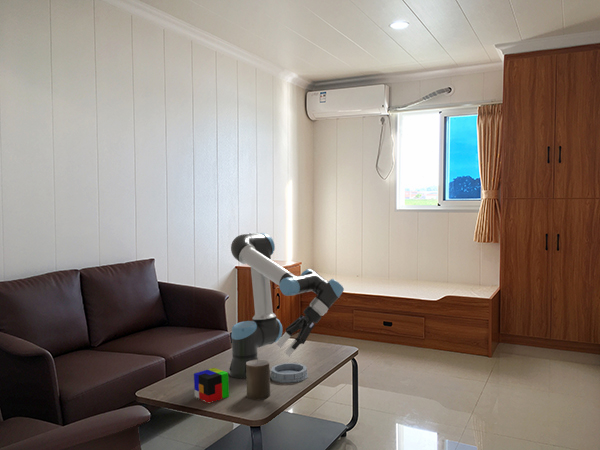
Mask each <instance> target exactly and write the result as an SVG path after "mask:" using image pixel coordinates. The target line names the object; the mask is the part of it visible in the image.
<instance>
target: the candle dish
mask: <svg viewBox="0 0 600 450" xmlns="http://www.w3.org/2000/svg"><path fill="white" fill-rule="evenodd" d="M270 368H271V370H270V371H271V373H270V380H272V381H274V382H276V383H279V384H280V383H282V384H292V383H299V382H300V383H301V382H303V381H305V380H306V379H308V374H309V373H308V367H307V366H306V365H305V364H302V363H299V362H283V363H279V364H275V365H273V366H272V367H270Z"/></svg>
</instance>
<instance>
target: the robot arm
mask: <svg viewBox="0 0 600 450" xmlns="http://www.w3.org/2000/svg"><path fill="white" fill-rule="evenodd" d="M275 249H276V247H275V242H274V239H273V238H272V236H270V235H269V234H268V233H265V232H257V233H248V234H240V235H238V236H236V237H235V238H234V239H233V241H232V242H231V245H230V251H231V254H232V257H233V258H234V259H235V260H237V261H238V263H241V264H242V265H246V264H247V265H248V266H249V267H250V273H251V283H252V294H253V306H254V315H253V317H252V320H245V321H240V322H237V323H235V324H234V325H232V327H231V334H230V336H231V353H232V357H231V361H230V365H229V368H228V376H230V377H231V378H234V379H241V380H242V379H246V378H247V377H246V362H248V361H251V360H259V357H258V348H262V347H264V346H267V345H272V344H274V343H275V344H276V346H278V347H279V348H283V346H284V344H285V345H286V342H287V341H288V340H289V339H290V338H291V337H292V336H293V334H294V333H296V332H298V331H299V333H298V334H297V336H296V337H295V338H294V340H293V341H292V342H291V344H289V346H288V347H287V348H286V349H285V351H284V353H285V355H287V356H288V357H291V356H292V355H293V353H294V352H295V351H296V350H297V348H299V346H300V345H304V344H305V343H306V341H307V339H308V337H309V335H311V332H312V330H313V329H314V328H315V326H316V324H317V323H319V321H320V320H322V316H323V317H324V315H326V314H327V313H328V310H329V309H330V308H331V307H332V306H333V304H335V302H336V301H337V300H338V299H339V298H340V297H341V295H342V294H343V292H344V290H345V289H344V287H343V285H342V284H341V283H340V282H339V281H337V280H336V279H334V278H331V279H329V280H327V279H325V278H324V277H323V276H322V275H320V273H318V272H316V271H315V270H313V269H311V268H307V269H305V270H304V271H302V273H301V274H300V275H295V274H294V273H292V272H290V271H288V270H287V269H285V268H284V267H283V266H281V265H279V264H278V263H277V262H275V261H273V260H272V259H271V258H272V255H273V254H274V252H275ZM271 282H273V283H274V284H275V285H277V286H278V287H279V291H281V293H282V295H284V296H287V297H289V296H290V297H291V296H296V295H300V294H304V293H309V292H312V293H314V294H316V296H315V297H314V298H313V299H312V300H311V302H310V303H309V306H307V307H305V309H304V310H303V314H304V315H302V314H301V315H300V316H299V317H298V318H296V319H295V320H294V321H293V322H292V323H290V325H288V326H287V327H286V328H285V332H284V333H283V325H282V323H281V321H280V319H278V318H277V315H276V313H274V312H273V302H272V291H271Z"/></svg>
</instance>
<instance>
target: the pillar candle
mask: <svg viewBox="0 0 600 450" xmlns="http://www.w3.org/2000/svg"><path fill="white" fill-rule="evenodd" d="M258 359H259V358H258ZM270 368H271V367H270V361H269V360H267V359H262V358H261V359H259V360H251V361H248V362H246V377H247V378H245V379H246V380H245V381H246V396H247V398H248V399H250V400H264V399H268V398H269V397H270V396H271V376H270V374H271V373H270V371H271V370H270Z"/></svg>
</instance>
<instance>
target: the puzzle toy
mask: <svg viewBox="0 0 600 450" xmlns="http://www.w3.org/2000/svg"><path fill="white" fill-rule="evenodd" d="M193 383H194V390H193V391H194V397H195V396H196V397H199V398H200V399H202V400H205V401H206V402H212V401H215V402H217V401H216V400H218V401H220V399H221V400H224V399H225V398H226V399H227V398H229V397H230V387H229V385H230V384H229V372H227V371H224V370H222V369H219V368H216V367H211V368H208V369H204V370H201V371H199V372H195V373H194V374H193ZM223 398H224V399H223ZM202 400H201V401H202ZM206 402H205V403H206ZM212 403H213V402H212Z"/></svg>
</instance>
